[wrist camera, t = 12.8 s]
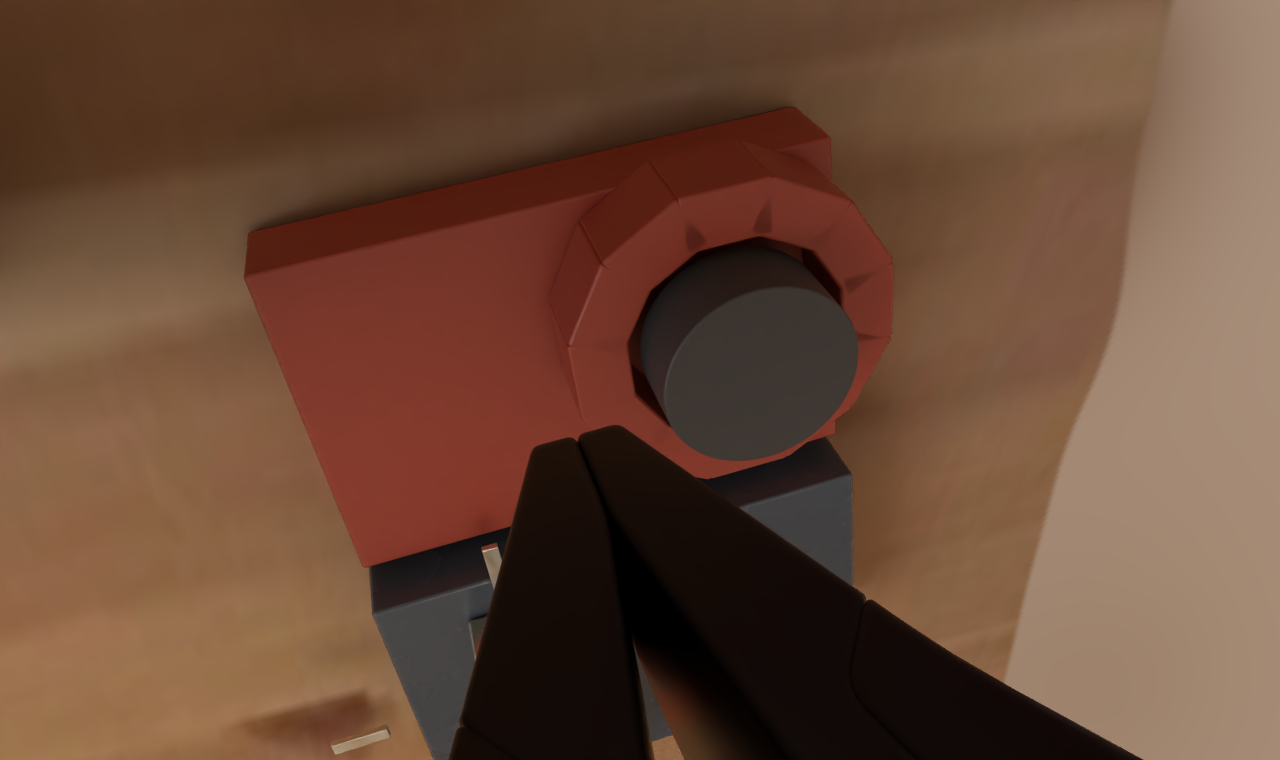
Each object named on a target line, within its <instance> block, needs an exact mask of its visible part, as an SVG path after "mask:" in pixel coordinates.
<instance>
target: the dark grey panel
mask: <svg viewBox="0 0 1280 760" xmlns="http://www.w3.org/2000/svg"><path fill="white" fill-rule="evenodd" d="M696 478H697V479H699V480H700V481H702V482H703V483H705V484H706V485H708V486H709V487H710V488H712V489H713V490H715V491H716V492H718V493H719V494H720V495H722V496H723V497H725V498H726V499H728V500H729V501H731V502H732V503H733V504H735V505H736V506H738V507H739V508H741V509H742V510H743V511H745V512H746V513H748V514H749V515H751V516H752V517H754V518H755V519H756V520H758V521H759V522H761V523H762V524H764V525H765V526H766V527H768V528H769V529H771V530H772V531H774V532H775V533H777V534H778V535H779V536H781V537H782V538H784V539H785V540H787V541H788V542H789V543H791V544H792V545H794V546H795V547H797V548H798V549H800V550H801V551H802V552H804V553H805V554H807V555H808V556H810V557H811V558H812V559H814V560H815V561H817V562H818V563H820V564H821V565H823V566H824V567H825V568H827V569H828V570H830V571H831V572H833V573H834V574H835V575H837V576H838V577H840V578H841V579H843V580H844V581H846V582H847V583H848V584H850V585H851V586H853V516H852V473H851V472H850V471H849V469H848V468H847V466H846V465H845V463H844V462H843V461H842V459H841V458H840V456H839V455H838V454H837V452H836V451H835V449H834V448H833V446H832V445H831V444H830V442H829V441H828V439H827V438H826V437H823V438H819V439H816V440H812V441H809V442H806V443H805V444H804V445H802V446H801V447H800V448H799V449H797V450H796V451H795V452H793V453H792V454H791V455H789V456H786V457H785V458H782V459H778V460H775V461H771V462H768V463H764V464H761V465H757V466H754V467H750V468H747V469H743V470H740V471H736V472H733V473H729V474H726V475H722V476H719V477H715V478H709V479H704V478H698V477H696ZM510 528H511V526H510V527H507V528H503V529H499V530H496V531H492V532H489V533H485V534H482V535H478V536H475V537H471V538H468V539H464V540H461V541H457V542H454V543H450V544H447V545H443V546H440V547H436V548H433V549H429V550H426V551H422V552H419V553H415V554H412V555H408V556H405V557H401V558H398V559H394V560H391V561H387V562H383V563H380V564H376V565H373V566H369V576H370V589H371V602H372V615H373V617H374V619H375V622H376V624H377V627H378V629H379V631H380V634H381V636H382V638H383V641H384V643H385V646H386V648H387V650H388V653H389V655H390V657H391V660H392V662H393V665H394V667H395V669H396V672H397V674H398V676H399V679H400V681H401V684H402V686H403V688H404V691H405V693H406V695H407V698H408V700H409V703H410V705H411V707H412V710H413V712H414V714H415V717H416V719H417V722H418V724H419V726H420V729H421V731H422V733H423V736H424V738H425V741H426V743H427V745H428V748H429V750H430V753H431V755H432V757H433V760H448V759H449V755H450V751H451V748H452V744H453V740H454V737H455V733H456V730H457V729H458V728H459V727H460V724H459V720H460V716H461V712H462V708H463V705H464V701H465V697H466V693H467V690H468V686H469V682H470V678H471V675H472V671H473V667H474V663H475V660H474V654H473V649H472V643H471V637H470V632H469V626H468V625H469V622H470V621H471V620H474V619H478V618H481V617H484V616H487V615H488V611H489V607H490V603H491V600H492V596H493V592H494V588H495V585H496V581H497V577H498V573H499V570H500V566H501V562H502V558H503V555H504V551H505V547H506V543H507V540H508V536H509V532H510ZM634 649H635V647H634ZM635 654H636V659H637V664H638V669H639V674H640V679H641V684H642V690H643V696H644V701H645V707H646V713H647V719H648V724H649V730H650V736H651V742H652V741H655V740H658V739H661V738H664V737H667V736H671V735H673V733H672V731H671V729H670V727H669V725H668V723H667V720H666V718H665V716H664V714H663V712H662V710H661V708H660V705H659V703H658V701H657V699H656V697H655V695H654V692H653V690H652V688H651V686H650V684H649V682H648V679H647V677H646V675H645V672H644V670H643V668H642V665H641V663H640V661H639V658H638V655H637V653H636V650H635ZM388 738H390V731H389V729H388V727H387V725H383V726H380V727H377V728H374V729H370V730H367V731H364V732H361V733H357V734H354V735H351V736H348V737H344V738H341V739H338V740H335V741H332V742H331V747H332V749H333V751H334V753H335V755H336V754H340V753H343V752H346V751H349V750H352V749H356V748H359V747H362V746H365V745H369V744H372V743H375V742H378V741H381V740H385V739H388Z"/></svg>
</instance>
